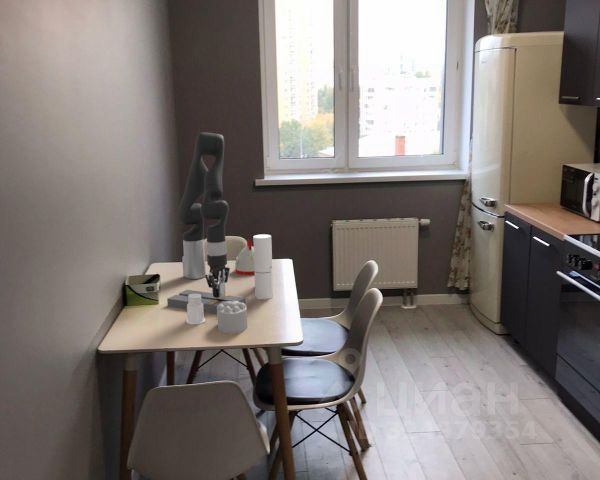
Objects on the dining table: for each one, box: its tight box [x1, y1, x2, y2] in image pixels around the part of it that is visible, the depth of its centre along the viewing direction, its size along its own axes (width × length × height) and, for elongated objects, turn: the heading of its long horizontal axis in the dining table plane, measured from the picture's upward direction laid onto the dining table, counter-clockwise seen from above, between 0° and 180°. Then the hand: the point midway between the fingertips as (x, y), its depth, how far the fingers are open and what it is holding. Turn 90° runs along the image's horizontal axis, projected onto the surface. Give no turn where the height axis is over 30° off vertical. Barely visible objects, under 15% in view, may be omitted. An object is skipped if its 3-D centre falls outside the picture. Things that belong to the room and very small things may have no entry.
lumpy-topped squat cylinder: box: [216, 301, 248, 335], centre depth 241 cm, size 10×13×9 cm
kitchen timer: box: [234, 238, 255, 276], centre depth 315 cm, size 14×14×15 cm
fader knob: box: [211, 282, 226, 301], centre depth 263 cm, size 4×3×9 cm
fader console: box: [166, 289, 247, 314], centre depth 267 cm, size 28×13×3 cm, turn 63°
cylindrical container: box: [252, 233, 274, 300], centre depth 274 cm, size 7×7×25 cm
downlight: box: [185, 293, 206, 325], centre depth 248 cm, size 8×7×10 cm
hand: (218, 295), depth 263 cm, fingers closed on fader knob, 3 cm apart
